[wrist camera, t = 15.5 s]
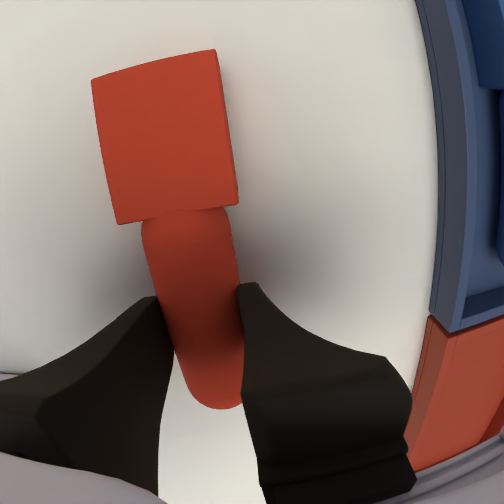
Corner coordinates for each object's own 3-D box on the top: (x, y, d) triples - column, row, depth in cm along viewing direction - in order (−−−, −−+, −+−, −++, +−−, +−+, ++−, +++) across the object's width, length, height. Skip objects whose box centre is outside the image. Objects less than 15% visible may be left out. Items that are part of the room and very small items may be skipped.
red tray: (383, 479, 20) (389, 497, 18) (427, 316, 14) (447, 339, 12) (478, 440, 20) (487, 454, 18) (545, 277, 14) (564, 291, 12)
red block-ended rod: (266, 371, 14) (272, 417, 11) (188, 380, 14) (182, 426, 11) (219, 65, 9) (215, 44, 7) (117, 87, 9) (84, 77, 7)
